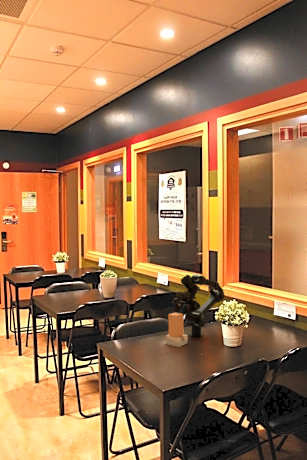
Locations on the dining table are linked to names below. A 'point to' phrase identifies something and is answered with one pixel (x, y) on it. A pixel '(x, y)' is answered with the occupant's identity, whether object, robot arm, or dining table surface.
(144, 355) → the dining table surface
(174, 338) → the tower top slab
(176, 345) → the tower base slab
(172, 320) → the orange pillar block
